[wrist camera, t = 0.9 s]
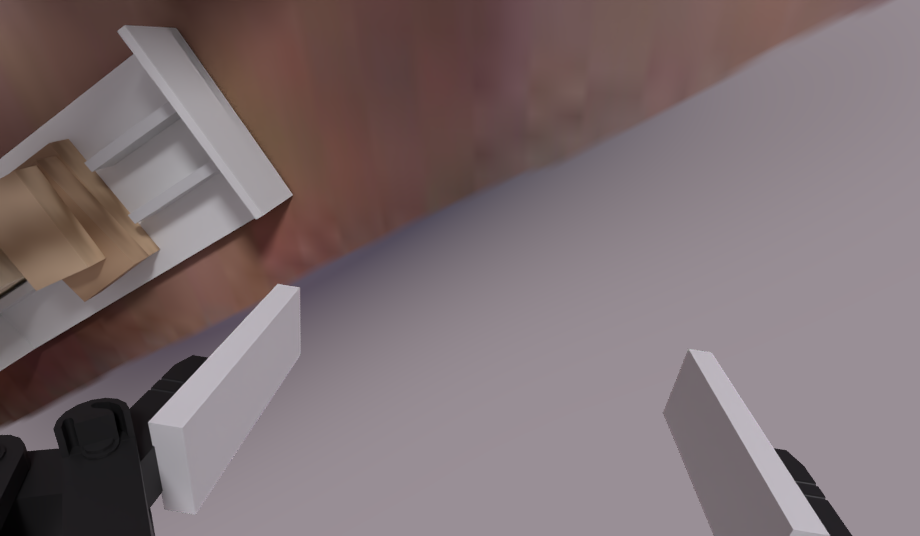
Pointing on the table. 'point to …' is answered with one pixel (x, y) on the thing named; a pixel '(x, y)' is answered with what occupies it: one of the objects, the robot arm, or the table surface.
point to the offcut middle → (93, 232)
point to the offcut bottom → (94, 188)
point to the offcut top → (41, 230)
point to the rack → (147, 174)
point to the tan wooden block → (9, 275)
